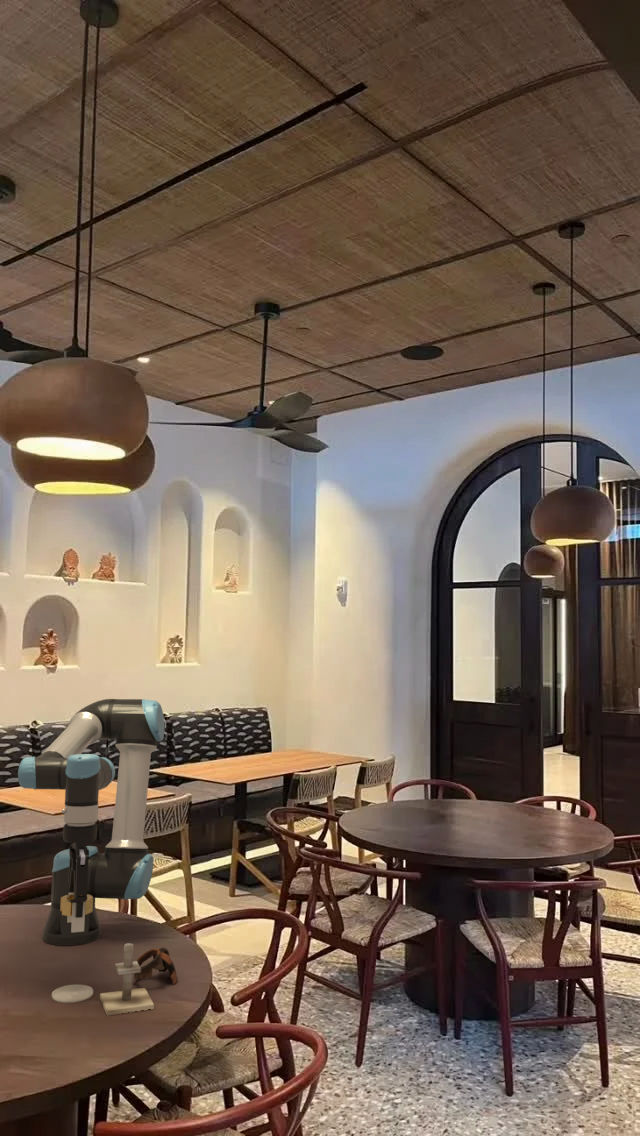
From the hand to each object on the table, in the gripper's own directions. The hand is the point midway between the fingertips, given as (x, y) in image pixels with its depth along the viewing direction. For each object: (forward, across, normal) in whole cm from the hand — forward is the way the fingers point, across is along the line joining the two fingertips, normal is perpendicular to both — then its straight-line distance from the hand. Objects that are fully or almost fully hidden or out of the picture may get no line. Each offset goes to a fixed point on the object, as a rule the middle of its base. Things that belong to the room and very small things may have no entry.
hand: (75, 926), depth 195 cm
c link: (-3, 0, 0) cm, 3 cm away
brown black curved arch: (+15, -3, +20) cm, 25 cm away
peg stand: (+15, +9, +11) cm, 20 cm away
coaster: (+15, 0, 0) cm, 15 cm away
